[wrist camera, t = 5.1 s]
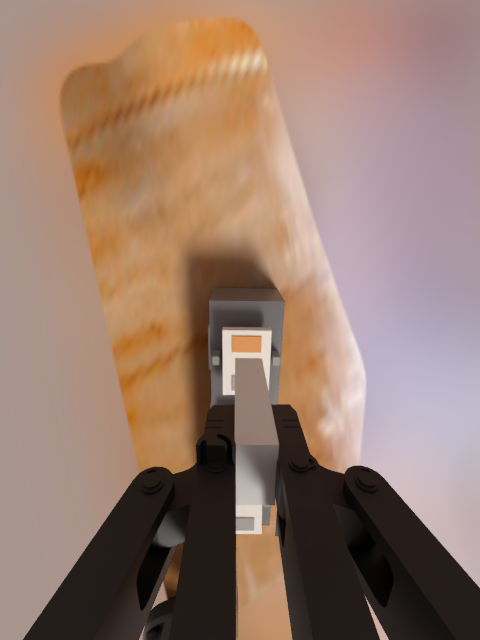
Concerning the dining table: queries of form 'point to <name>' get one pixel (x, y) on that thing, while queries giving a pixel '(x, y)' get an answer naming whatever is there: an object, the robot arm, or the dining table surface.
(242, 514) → the rocker back
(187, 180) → the dining table surface
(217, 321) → the power strip
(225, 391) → the rocker front
